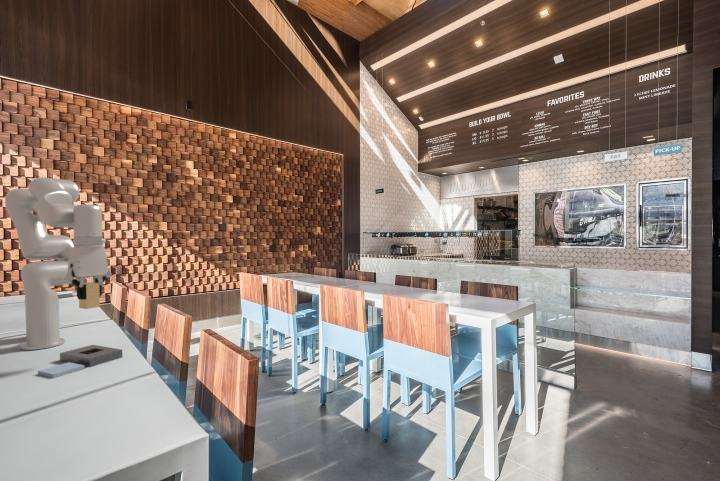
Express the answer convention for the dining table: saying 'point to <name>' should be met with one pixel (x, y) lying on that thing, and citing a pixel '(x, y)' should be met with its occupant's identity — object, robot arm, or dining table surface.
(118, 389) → the dining table surface
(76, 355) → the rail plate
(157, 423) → the dining table surface
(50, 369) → the mat
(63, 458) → the dining table surface
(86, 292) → the brass block
